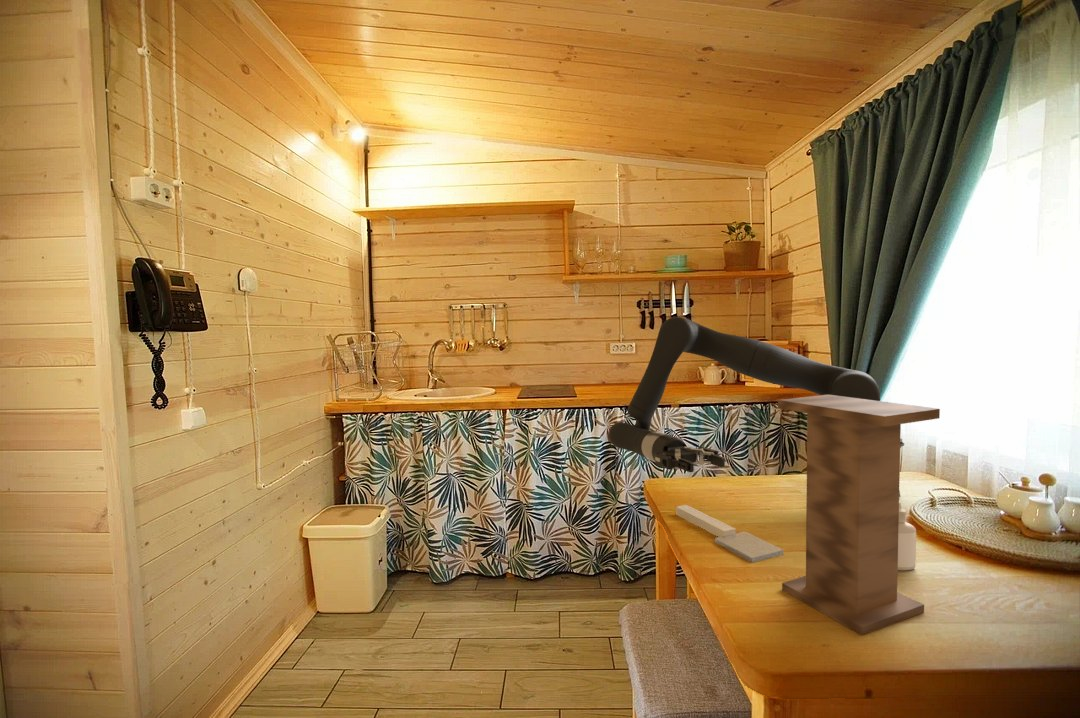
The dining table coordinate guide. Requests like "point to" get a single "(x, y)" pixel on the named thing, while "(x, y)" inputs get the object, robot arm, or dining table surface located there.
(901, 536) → the eye dropper bottle
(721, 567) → the dining table surface
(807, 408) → the shelf stand
